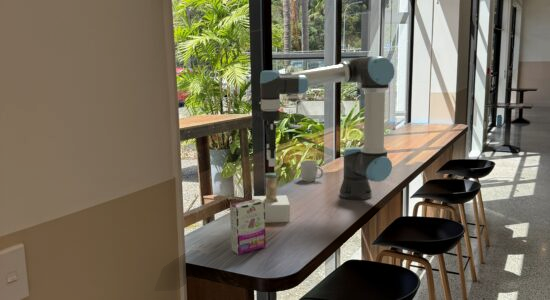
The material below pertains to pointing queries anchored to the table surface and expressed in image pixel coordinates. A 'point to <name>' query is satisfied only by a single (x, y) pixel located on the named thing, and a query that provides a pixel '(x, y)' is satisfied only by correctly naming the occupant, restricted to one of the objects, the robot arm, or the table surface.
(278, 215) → the socket
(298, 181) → the table surface
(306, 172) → the mug
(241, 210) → the candy bar box
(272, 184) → the peg
